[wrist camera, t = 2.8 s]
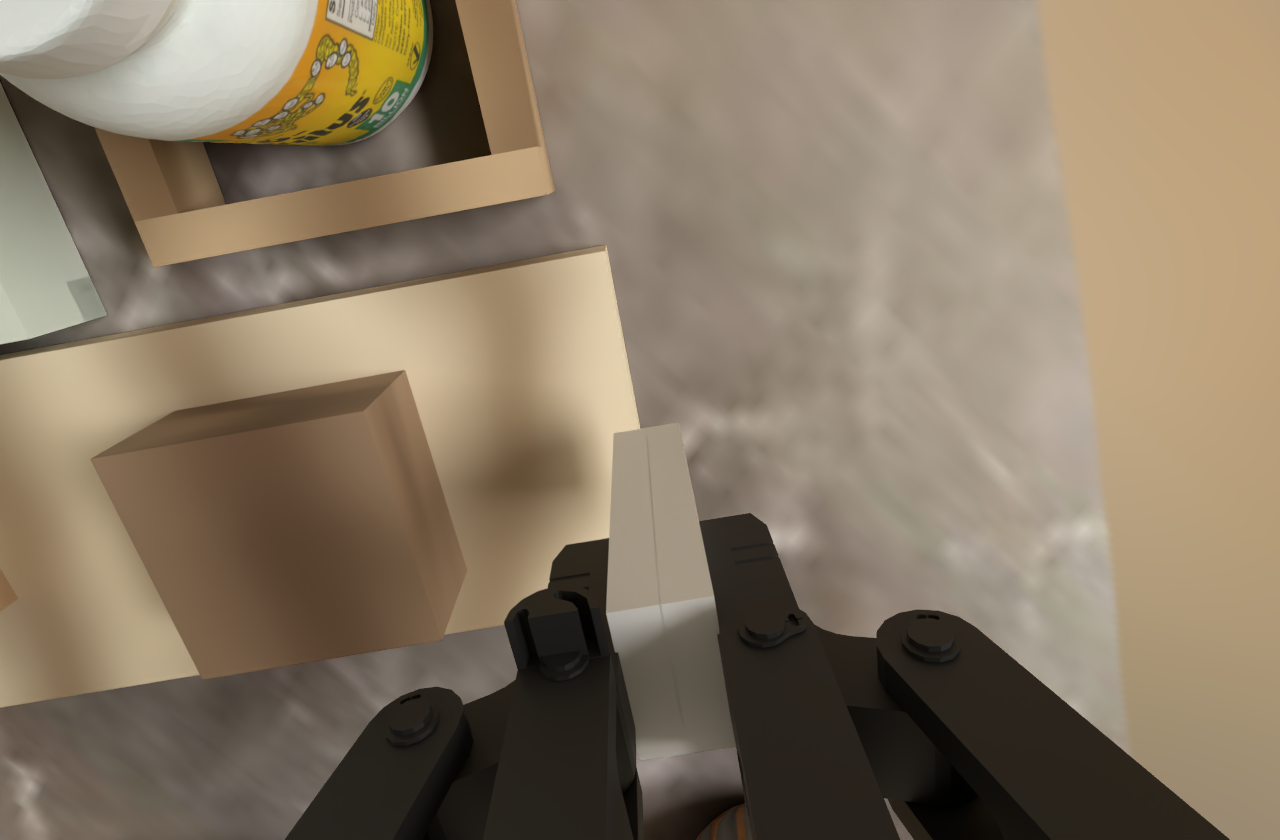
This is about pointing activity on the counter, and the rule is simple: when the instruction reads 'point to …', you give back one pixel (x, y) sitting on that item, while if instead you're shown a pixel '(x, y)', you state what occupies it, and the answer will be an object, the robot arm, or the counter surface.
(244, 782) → the counter surface
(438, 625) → the walnut block
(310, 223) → the oak collar
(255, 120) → the supplement bottle
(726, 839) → the vase
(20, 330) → the tray
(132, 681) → the board
